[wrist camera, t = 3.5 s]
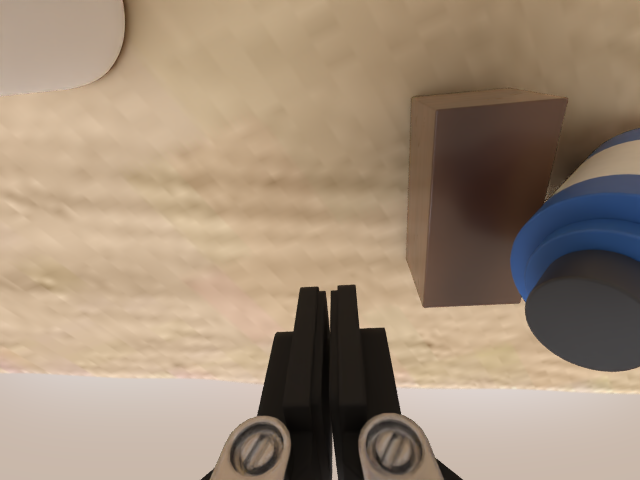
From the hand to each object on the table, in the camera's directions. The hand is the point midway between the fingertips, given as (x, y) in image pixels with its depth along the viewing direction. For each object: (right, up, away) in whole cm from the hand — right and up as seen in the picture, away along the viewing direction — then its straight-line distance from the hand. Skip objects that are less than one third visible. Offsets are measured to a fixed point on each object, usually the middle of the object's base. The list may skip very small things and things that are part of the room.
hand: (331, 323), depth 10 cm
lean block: (+7, +6, +9) cm, 13 cm away
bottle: (+13, +6, +9) cm, 17 cm away
